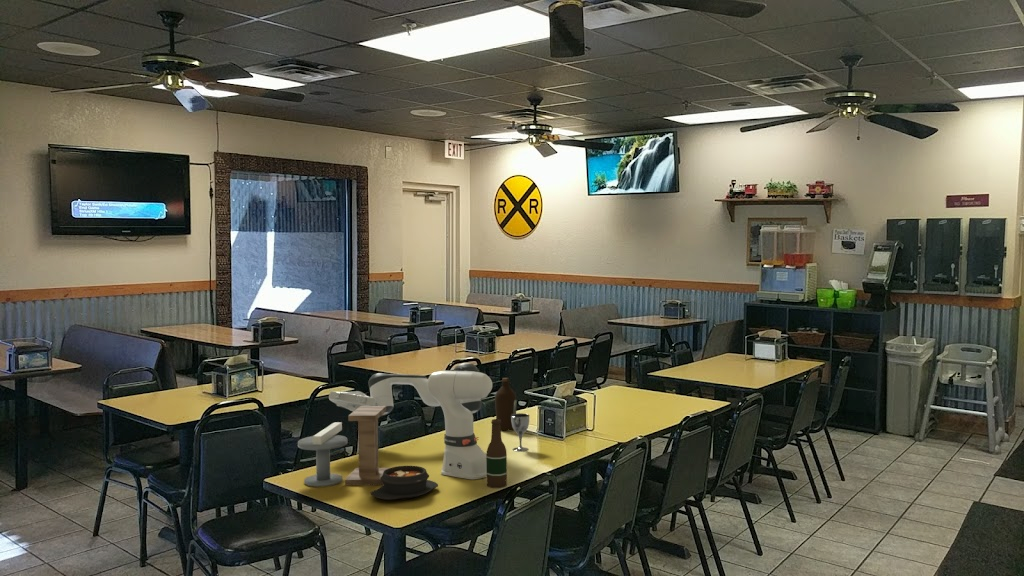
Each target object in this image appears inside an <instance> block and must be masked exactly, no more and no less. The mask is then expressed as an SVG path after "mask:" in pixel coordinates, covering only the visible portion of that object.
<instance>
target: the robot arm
mask: <svg viewBox="0 0 1024 576" xmlns="http://www.w3.org/2000/svg"><path fill="white" fill-rule="evenodd" d="M453 369H454V370H438V371H434V372H432V373H431V374H430V375H429V376H428V378H427V376H426V375H420V374H404V373H403V374H399V373H398V374H397V373H395V374H392V373H385V372H384V373H382V372H378V373H374V374H372V375H371V377H369V380H368V384H367V385H368V389H369V392H370V396H369V395H366V394H365V393H364V392H362V391H359V390H356V391H336V390H335V391H334V390H330V391H329V395H328V399H329V401H330V402H332V403H334V404H335V405H336V407H340V408H342V409H346V410H349V411H351V412H354V411H355V410H356V409H358V408H359V407H360V406H386V412H385V413H384V414H383V415H381V416H380V417H384V416H386V415H388V414H390V413H391V412H392V411H393V410H394V398H393V389H392V388H393V385H410V386H412V387H414V389H416V391H417V393H418V395H419V397H420V399H421V401H422V402H423V403H424V404H425V405H427V406H429V407H441V409H442V412H443V415H444V431H445V432H444V438H443V440H444V442H443V443H444V451H443V461H442V467H441V472H440V474H441V475H444V476H449V477H455V478H461V479H466V480H479V479H484V478H487V462H486V455H487V453H485V452H484V450H483V449H482V448H481V447H480V446H479V444H478V441H479V438H480V437H478V436H476V435H475V432H474V415H473V414H475V413H477V412H479V411H481V409H482V404H483V402H482V400H483V399H485V398H487V397H488V395H489V394H490V393H491V391H492V389H493V381H492V379H491V378H490V376H488V375H487V374H486V373H484V372H480V369H478V367H477V366H476V365H475V364H474V363H471V362H463V363H460V364H458V365H456V366H455V367H454V368H453Z"/></svg>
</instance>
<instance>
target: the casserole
mask: <svg viewBox="0 0 1024 576" xmlns="http://www.w3.org/2000/svg"><path fill="white" fill-rule="evenodd" d="M388 468H389V469H386V470H385V471H384V472H383V475H382V477H381V478H380V479H381V481H382V482H383V485H381V486H380V487H379V488H377V489H375V490H372V491H371V492H370V495H371V496H372V497H374V498H376V499H379V500H384V501H385V500H387V501H390V500H397V499H398V500H408V499H415V498H417V497H420V496H422V495H425V494H428V493H429V492H430V491H432V490H434V489H436V488H438V487H439V484H438V483H437V482H436V481H433V480H429V478H430V474H429V473H428V472H427V469H426V468H425V467H423V466H418V465H399V466H393V467H392V466H391V467H388Z"/></svg>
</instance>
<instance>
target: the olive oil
mask: <svg viewBox="0 0 1024 576" xmlns="http://www.w3.org/2000/svg"><path fill="white" fill-rule="evenodd" d="M501 384H502V385H501V386H500V388H499V389H498V390H497V391H496V393H495V396H494V405H495V407H494V408H495V419H499V420H501V423H500V427H501V430H512V431H514V430H513V427H512V422H511V415H512V414H517V401H518V400H517V397H518V396H517V393H516V392H515V391H514V389H513V388H512V387H510V378H509V377H502V381H501Z"/></svg>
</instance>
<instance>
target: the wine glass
mask: <svg viewBox="0 0 1024 576" xmlns="http://www.w3.org/2000/svg"><path fill="white" fill-rule="evenodd" d="M511 422H512V427H513V429H514V430H513V431H514V432H515V433H516V434H517V435H518V440H519V446H518V447H513V448H512V451H514V452H518V453H519V452H528V451H529V449H530V448H528V447H523V446H522V441H523V435H524V434H525V433H526V431H527V430H528V428H529V427H530V426H529V425H530V414H529V413H522V412H521V413H516V414H512V415H511Z"/></svg>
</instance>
